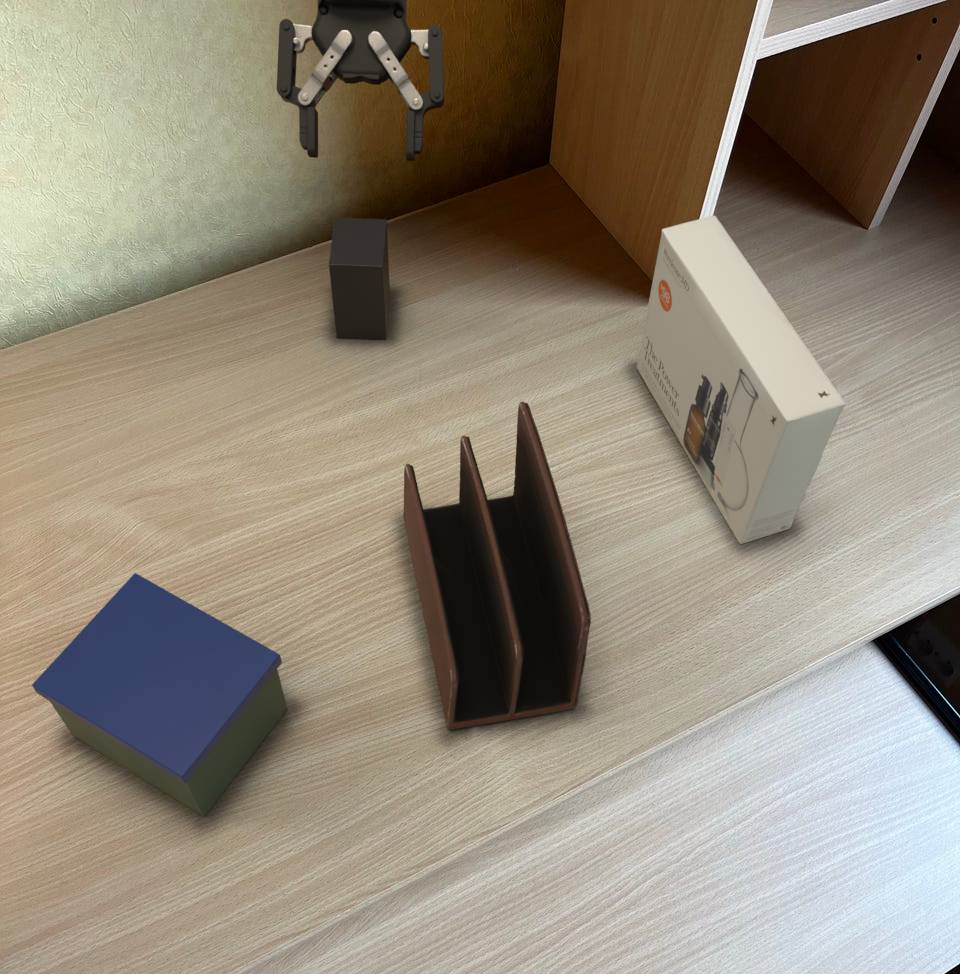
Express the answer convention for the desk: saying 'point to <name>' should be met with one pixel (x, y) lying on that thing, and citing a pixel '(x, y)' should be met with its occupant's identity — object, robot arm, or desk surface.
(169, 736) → the container
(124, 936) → the desk surface
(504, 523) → the letter holder
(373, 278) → the case
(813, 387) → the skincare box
